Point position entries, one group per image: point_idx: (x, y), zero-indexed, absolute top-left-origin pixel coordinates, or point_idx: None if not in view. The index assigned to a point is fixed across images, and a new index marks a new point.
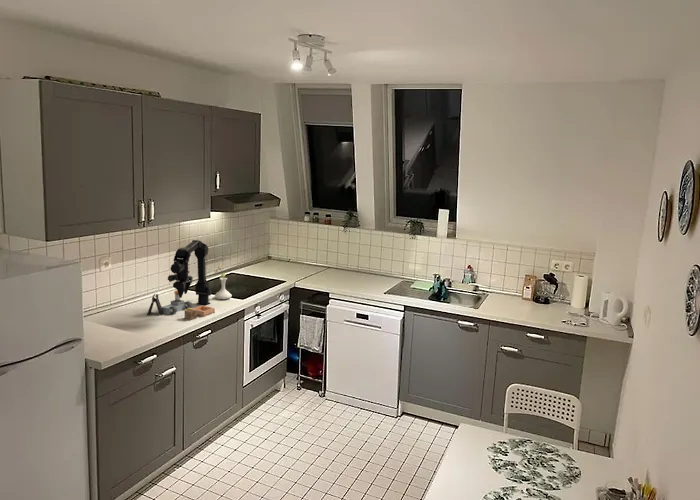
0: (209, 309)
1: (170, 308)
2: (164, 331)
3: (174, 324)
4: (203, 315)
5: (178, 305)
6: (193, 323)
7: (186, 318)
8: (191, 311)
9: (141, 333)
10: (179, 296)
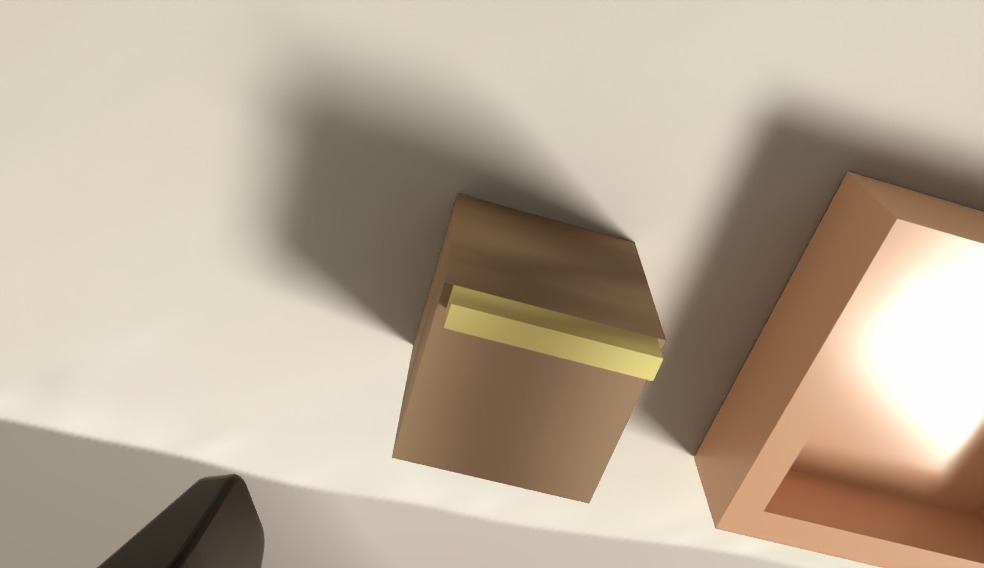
0: (908, 558)
1: None
2: None
3: (24, 169)
4: (703, 464)
5: None
6: (263, 443)
7: (440, 251)
8: (452, 443)
9: None
10: (160, 530)
